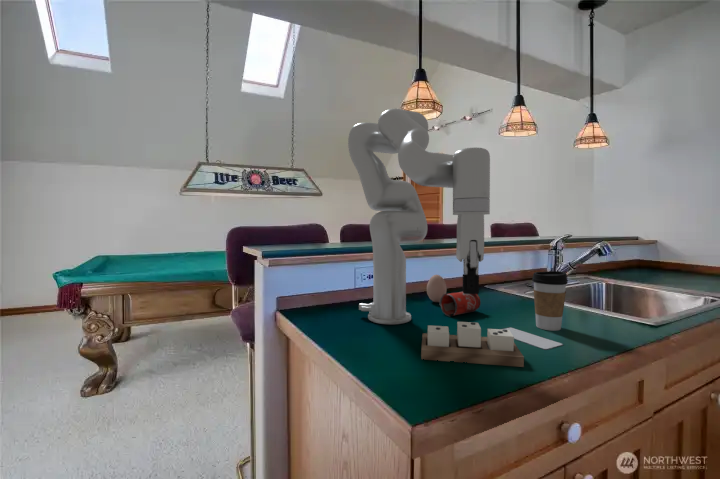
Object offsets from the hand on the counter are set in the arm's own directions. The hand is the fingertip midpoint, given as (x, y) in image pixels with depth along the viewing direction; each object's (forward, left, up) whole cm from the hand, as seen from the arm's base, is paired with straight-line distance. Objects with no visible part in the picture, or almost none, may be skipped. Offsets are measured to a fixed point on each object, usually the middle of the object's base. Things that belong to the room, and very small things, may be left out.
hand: (470, 293), depth 76 cm
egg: (-6, +47, -14) cm, 49 cm away
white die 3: (+6, 0, -12) cm, 14 cm away
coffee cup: (+23, +23, -14) cm, 35 cm away
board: (0, 0, -13) cm, 13 cm away
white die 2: (0, 0, -11) cm, 11 cm away
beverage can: (+1, +34, -14) cm, 37 cm away
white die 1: (-7, 0, -12) cm, 14 cm away
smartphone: (+15, +13, -14) cm, 24 cm away
